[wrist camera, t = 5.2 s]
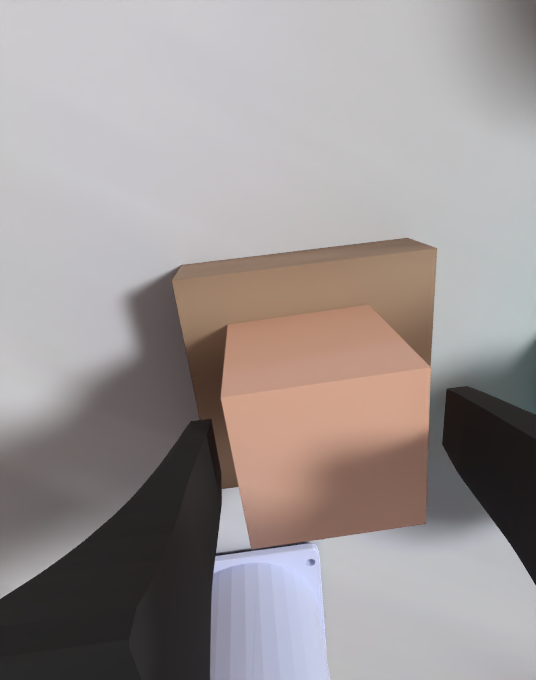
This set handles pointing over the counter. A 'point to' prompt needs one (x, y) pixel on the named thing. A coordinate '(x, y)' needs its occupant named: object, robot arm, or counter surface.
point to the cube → (326, 425)
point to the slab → (297, 305)
